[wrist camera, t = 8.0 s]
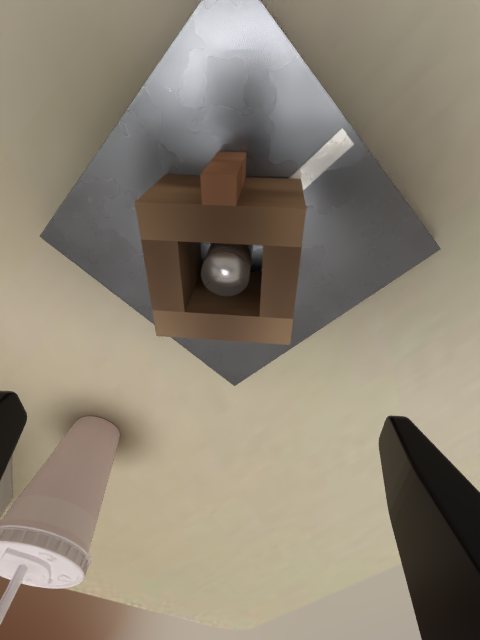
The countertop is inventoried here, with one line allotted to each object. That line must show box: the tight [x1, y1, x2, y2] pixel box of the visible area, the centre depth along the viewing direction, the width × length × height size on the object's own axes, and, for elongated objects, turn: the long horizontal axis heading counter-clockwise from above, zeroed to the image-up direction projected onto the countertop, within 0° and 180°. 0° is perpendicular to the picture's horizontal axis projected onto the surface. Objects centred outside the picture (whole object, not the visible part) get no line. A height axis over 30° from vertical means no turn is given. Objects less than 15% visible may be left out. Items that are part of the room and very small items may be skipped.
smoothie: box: [0, 416, 120, 624], centre depth 23 cm, size 6×6×14 cm
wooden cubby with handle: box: [135, 151, 306, 345], centre depth 15 cm, size 6×7×4 cm
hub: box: [40, 0, 440, 386], centre depth 16 cm, size 14×14×4 cm
